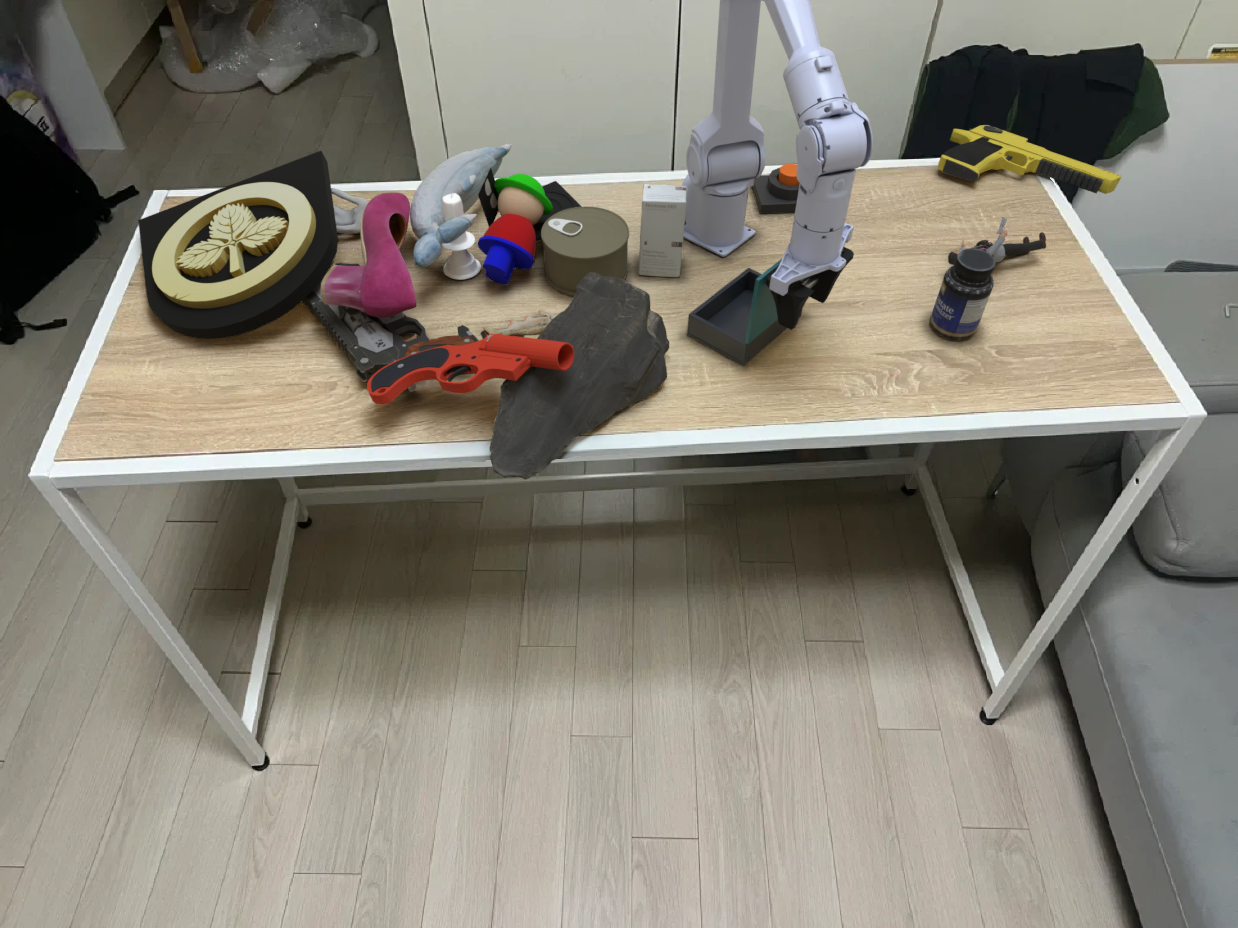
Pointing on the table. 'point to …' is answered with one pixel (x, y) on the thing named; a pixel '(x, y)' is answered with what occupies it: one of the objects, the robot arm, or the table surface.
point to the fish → (525, 326)
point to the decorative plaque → (241, 251)
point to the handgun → (1018, 159)
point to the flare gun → (469, 364)
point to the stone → (581, 375)
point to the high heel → (376, 263)
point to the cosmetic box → (662, 230)
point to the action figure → (1003, 246)
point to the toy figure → (510, 223)
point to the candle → (459, 244)
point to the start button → (788, 175)
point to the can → (584, 246)
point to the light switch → (555, 204)
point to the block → (774, 194)
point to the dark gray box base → (731, 321)
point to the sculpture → (449, 177)
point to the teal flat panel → (767, 304)
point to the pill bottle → (963, 295)
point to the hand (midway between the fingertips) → (802, 311)
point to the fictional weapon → (376, 334)
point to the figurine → (348, 213)
